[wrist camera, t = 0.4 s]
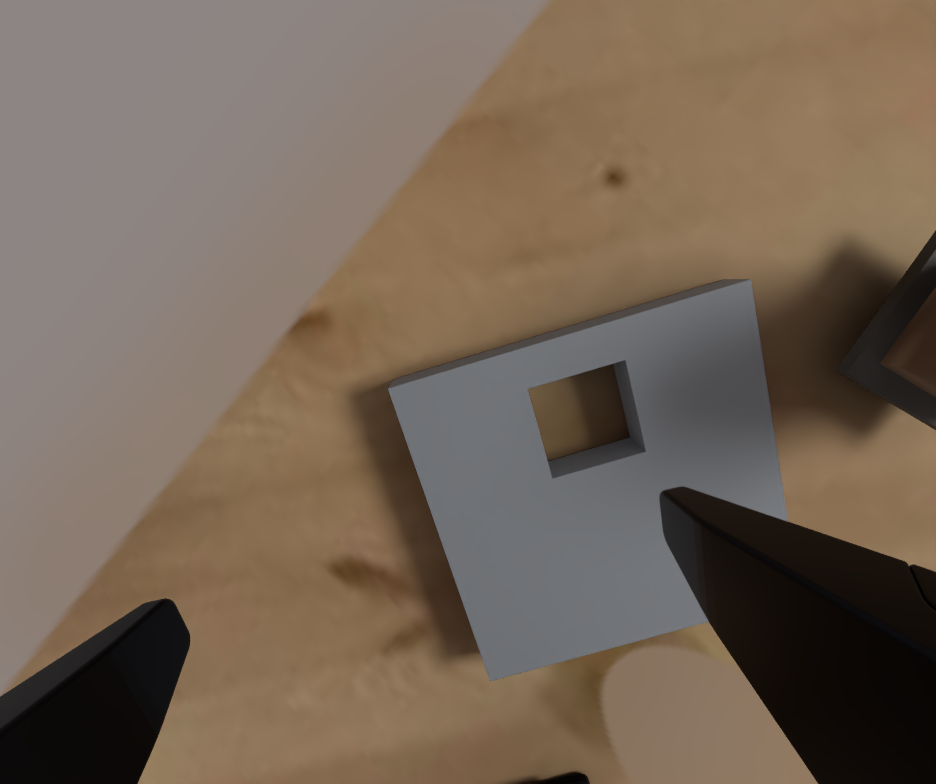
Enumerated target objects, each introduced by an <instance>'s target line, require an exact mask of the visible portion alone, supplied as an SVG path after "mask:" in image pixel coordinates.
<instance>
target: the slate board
mask: <svg viewBox="0 0 936 784" xmlns="http://www.w3.org/2000/svg"><path fill="white" fill-rule="evenodd" d="M610 364H613V365H614V370H615V374H616V379H617V383H618V387H619V392H620V396H621V400H622V405H623V409H624V413H625V418H626V422H627V426H628V431H629V435H630V438H626V439H623V440H619V441H616V442H613V443H609V444H606V445H602V446H599V447H595V448H592V449H588V450H585V451H582V452H578V453H575V454H571V455H568V456H564V457H561V458H558V459H554V460H551V461H547V457H546V453H545V450H544V446H543V443H542V439H541V435H540V432H539V428H538V425H537V421H536V417H535V414H534V410H533V407H532V403H531V399H530V396H529V392H528V389H530V388H533V387H536V386H540V385H543V384H546V383H550V382H553V381H557V380H560V379H563V378H567V377H570V376H573V375H577V374H580V373H583V372H587V371H590V370H593V369H597V368H600V367H604V366H607V365H610ZM388 391H389V394H390V397H391V399H392V402H393V405H394V408H395V411H396V414H397V417H398V419H399V422H400V425H401V428H402V431H403V434H404V437H405V439H406V442H407V445H408V448H409V451H410V454H411V457H412V459H413V462H414V465H415V468H416V471H417V474H418V476H419V479H420V482H421V485H422V488H423V491H424V494H425V496H426V499H427V502H428V505H429V508H430V511H431V514H432V516H433V519H434V522H435V525H436V528H437V531H438V534H439V536H440V539H441V542H442V545H443V548H444V551H445V554H446V556H447V559H448V562H449V565H450V568H451V571H452V574H453V576H454V579H455V582H456V585H457V588H458V591H459V594H460V596H461V599H462V602H463V605H464V608H465V611H466V614H467V616H468V619H469V622H470V625H471V628H472V631H473V634H474V636H475V639H476V642H477V645H478V648H479V651H480V654H481V656H482V659H483V662H484V665H485V668H486V671H487V674H488V676H489V679H490V681H493V680H497V679H500V678H504V677H508V676H511V675H515V674H519V673H522V672H526V671H530V670H533V669H537V668H541V667H544V666H548V665H551V664H555V663H559V662H562V661H566V660H570V659H573V658H577V657H581V656H584V655H588V654H592V653H595V652H599V651H603V650H606V649H610V648H614V647H617V646H621V645H625V644H628V643H632V642H636V641H639V640H643V639H647V638H650V637H654V636H658V635H661V634H665V633H669V632H672V631H676V630H680V629H683V628H687V627H691V626H694V625H698V624H702V623H705V622H709V621H708V619H707V618H706V616H705V614H704V612H703V611H702V609H701V607H700V605H699V603H698V601H697V599H696V598H695V596H694V594H693V592H692V590H691V588H690V586H689V584H688V583H687V581H686V579H685V577H684V575H683V573H682V571H681V569H680V568H679V566H678V564H677V562H676V560H675V558H674V556H673V554H672V553H671V551H670V549H669V547H668V545H667V543H666V540H665V537H664V534H663V528H662V519H661V510H660V501H659V496H660V493H661V491H663V490H666V489H671V488H675V487H680V486H684V487H688V488H691V489H694V490H696V491H699V492H702V493H705V494H708V495H711V496H714V497H717V498H720V499H723V500H726V501H729V502H732V503H735V504H738V505H740V506H743V507H746V508H749V509H752V510H755V511H758V512H761V513H764V514H767V515H770V516H773V517H776V518H779V519H782V520H785V521H787V522H788V519H787V512H786V506H785V499H784V493H783V486H782V480H781V473H780V466H779V460H778V453H777V447H776V440H775V434H774V427H773V421H772V414H771V408H770V401H769V394H768V388H767V381H766V375H765V368H764V362H763V355H762V349H761V342H760V336H759V329H758V323H757V316H756V309H755V303H754V296H753V290H752V283H751V279H724V280H721V281H717V282H714V283H711V284H708V285H704V286H701V287H698V288H694V289H691V290H688V291H684V292H681V293H678V294H674V295H671V296H668V297H664V298H661V299H658V300H655V301H651V302H648V303H645V304H641V305H638V306H635V307H631V308H628V309H625V310H621V311H618V312H615V313H611V314H608V315H605V316H602V317H598V318H595V319H592V320H588V321H585V322H582V323H578V324H575V325H572V326H568V327H565V328H562V329H558V330H555V331H552V332H549V333H545V334H542V335H539V336H535V337H532V338H529V339H525V340H522V341H519V342H515V343H512V344H509V345H506V346H502V347H499V348H496V349H492V350H489V351H486V352H482V353H479V354H476V355H472V356H469V357H466V358H462V359H459V360H456V361H453V362H449V363H446V364H443V365H439V366H436V367H433V368H429V369H426V370H423V371H419V372H416V373H413V374H409V375H406V376H403V377H400V378H396V379H393V381H392V383H391V384H390V386H389V388H388Z"/></svg>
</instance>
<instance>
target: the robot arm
mask: <svg viewBox="0 0 936 784" xmlns="http://www.w3.org/2000/svg"><path fill="white" fill-rule="evenodd" d="M659 501H660V510H661V519H662V528H663V534H664V537H665V540H666V543H667V545H668V547H669V549H670V551H671V553H672V554H673V556H674V558H675V560H676V562H677V564H678V566H679V568H680V569H681V571H682V573H683V575H684V577H685V579H686V581H687V583H688V584H689V586H690V588H691V590H692V592H693V594H694V596H695V598H696V599H697V601H698V603H699V605H700V607H701V609H702V611H703V612H704V614H705V616H706V618H707V619H708V621H709V623H710V624H711V626H712V627H713V629H714V631H715V632H716V634H717V635H718V637H719V638H720V640H721V641H722V643H723V644H724V646H725V647H726V648H727V650H728V651H729V653H730V654H731V656H732V657H733V659H734V660H735V662H736V663H737V665H738V666H739V668H740V669H741V671H742V672H743V673H744V675H745V676H746V678H747V679H748V681H749V682H750V684H751V685H752V687H753V688H754V689H755V691H756V693H757V694H758V695H759V697H760V699H761V700H762V701H763V703H764V704H765V706H766V707H767V709H768V710H769V712H770V713H771V715H772V716H773V718H774V719H775V721H776V722H777V724H778V725H779V726H780V728H781V729H782V731H783V732H784V734H785V735H786V737H787V738H788V740H789V741H790V743H791V744H792V746H793V747H794V749H795V750H796V751H797V753H798V754H799V756H800V757H801V759H802V760H803V762H804V763H805V765H806V766H807V768H808V769H809V771H810V772H811V774H812V775H813V776H814V778H815V780H816V781H817V782H818V784H936V572H934V571H932V570H929V569H926V568H923V567H920V566H917V565H910V566H909V565H908V564H907V563H906V562H905V561H902V560H899V559H896V558H893V557H890V556H887V555H884V554H881V553H878V552H876V551H873V550H870V549H867V548H864V547H861V546H858V545H855V544H852V543H849V542H846V541H843V540H840V539H837V538H834V537H831V536H829V535H826V534H823V533H820V532H817V531H814V530H811V529H808V528H805V527H802V526H799V525H796V524H793V523H790V522H787V521H785V520H782V519H779V518H776V517H773V516H770V515H767V514H764V513H761V512H758V511H755V510H752V509H749V508H746V507H743V506H740V505H738V504H735V503H732V502H729V501H726V500H723V499H720V498H717V497H714V496H711V495H708V494H705V493H702V492H699V491H696V490H694V489H691V488H688V487H684V486H680V487H675V488H671V489H666V490H663V491H661V493H660V496H659ZM189 646H190V634H189V631H188V629H187V627H186V625H185V623H184V621H183V619H182V617H181V615H180V613H179V611H178V609H177V607H176V605H175V603H174V602H173V601H172V600H170V599H167V598H165V599H160V600H155V601H151V602H147V603H144V604H142V605H141V606H139V607H137V608H136V609H134V610H133V611H131V612H130V613H128V614H127V615H125V616H124V617H122V618H121V619H119V620H117V621H116V622H114V623H113V624H111V625H110V626H108V627H107V628H105V629H104V630H102V631H101V632H99V633H98V634H96V635H94V636H93V637H91V638H90V639H88V640H87V641H85V642H84V643H82V644H81V645H79V646H78V647H76V648H74V649H73V650H71V651H70V652H68V653H67V654H65V655H64V656H62V657H61V658H59V659H58V660H56V661H54V662H53V663H51V664H50V665H48V666H47V667H45V668H44V669H42V670H41V671H39V672H38V673H36V674H35V675H33V676H31V677H30V678H28V679H27V680H25V681H24V682H22V683H21V684H19V685H18V686H16V687H15V688H13V689H11V690H10V691H8V692H7V693H5V694H4V695H2V696H1V697H0V784H138V781H139V779H140V777H141V775H142V772H143V770H144V768H145V766H146V763H147V761H148V759H149V757H150V754H151V752H152V750H153V747H154V745H155V742H156V740H157V738H158V735H159V732H160V730H161V727H162V724H163V722H164V719H165V716H166V713H167V710H168V707H169V704H170V702H171V699H172V696H173V693H174V690H175V687H176V684H177V681H178V679H179V676H180V673H181V670H182V667H183V664H184V661H185V659H186V656H187V653H188V650H189ZM542 784H590V782H589V779H588V777H587V776H586V775H585V774H577V775H573V776H569V777H565V778H561V779H558V780H554V781H550V782H546V783H542Z"/></svg>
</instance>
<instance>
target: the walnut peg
mask: <svg viewBox="0 0 936 784" xmlns="http://www.w3.org/2000/svg"><path fill="white" fill-rule="evenodd" d="M836 371H837V372H839V373H841V374H842V375H844V376H846V377H847V378H849V379H851V380H852V381H854V382H856V383H857V384H859V385H861V386H862V387H864V388H866V389H868V390H869V391H871V392H873V393H874V394H876V395H878V396H879V397H881V398H883V399H884V400H886V401H888V402H889V403H891V404H893V405H894V406H896V407H898V408H899V409H901V410H903V411H905V412H906V413H908V414H910V415H911V416H913V417H915V418H916V419H918V420H920V421H921V422H923V423H925V424H926V425H928V426H930V427H931V428H933V429H935V430H936V231H935V232H934V234H933V235H932V237H931V238H930V239H929V241H928V242H927V244H926V245H925V246H924V248H923V249H922V251H921V252H920V253H919V255H918V256H917V258H916V259H915V260H914V262H913V263H912V265H911V266H910V267H909V269H908V270H907V271H906V273H905V274H904V276H903V277H902V278H901V280H900V281H899V283H898V284H897V285H896V287H895V288H894V290H893V291H892V292H891V294H890V295H889V297H888V298H887V299H886V301H885V302H884V304H883V305H882V306H881V308H880V309H879V311H878V312H877V313H876V315H875V316H874V318H873V319H872V320H871V322H870V323H869V325H868V326H867V327H866V329H865V330H864V332H863V333H862V334H861V336H860V337H859V339H858V340H857V341H856V343H855V344H854V346H853V347H852V348H851V350H850V351H849V353H848V354H847V355H846V357H845V358H844V360H843V361H842V362H841V364H840V365H839V367H838V368H837V369H836Z"/></svg>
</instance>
